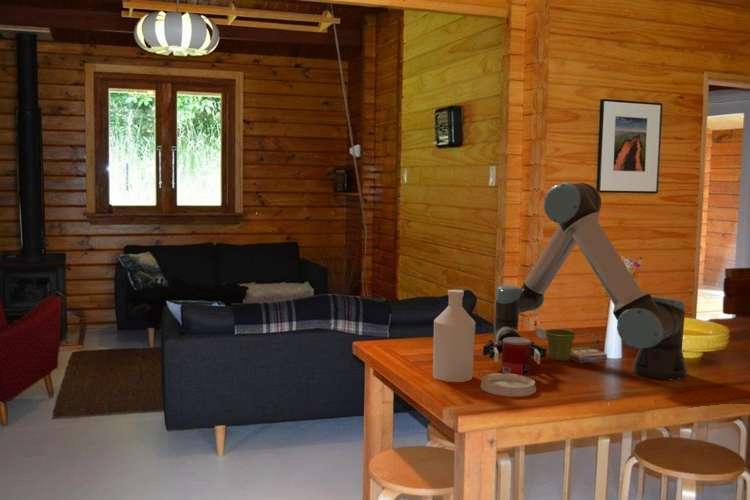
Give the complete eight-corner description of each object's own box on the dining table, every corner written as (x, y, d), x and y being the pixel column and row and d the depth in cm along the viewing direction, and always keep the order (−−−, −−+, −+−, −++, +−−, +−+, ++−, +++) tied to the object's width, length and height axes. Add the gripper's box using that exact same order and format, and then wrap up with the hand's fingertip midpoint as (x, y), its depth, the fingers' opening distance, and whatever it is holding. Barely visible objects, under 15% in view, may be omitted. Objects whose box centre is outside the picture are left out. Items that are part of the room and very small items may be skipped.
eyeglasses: (533, 337, 281) (533, 326, 281) (571, 333, 290) (572, 323, 289) (562, 346, 268) (563, 335, 267) (601, 342, 276) (602, 331, 276)
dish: (539, 384, 218) (539, 376, 217) (532, 399, 203) (532, 390, 203) (485, 378, 222) (486, 370, 222) (475, 392, 208) (476, 384, 208)
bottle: (477, 374, 227) (481, 289, 224) (466, 384, 216) (470, 295, 213) (438, 369, 232) (442, 286, 229) (426, 378, 221) (429, 292, 218)
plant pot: (561, 363, 242) (562, 336, 241) (538, 357, 249) (539, 330, 249) (580, 360, 247) (582, 333, 247) (557, 353, 255) (559, 327, 254)
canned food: (529, 381, 221) (530, 343, 219) (500, 379, 222) (502, 341, 221) (529, 374, 228) (531, 338, 227) (501, 372, 230) (503, 336, 228)
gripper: (546, 354, 242) (558, 373, 220) (471, 351, 243) (475, 369, 222) (547, 330, 241) (560, 347, 219) (471, 327, 243) (476, 343, 221)
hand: (517, 358), depth 221 cm, fingers open, 11 cm apart
